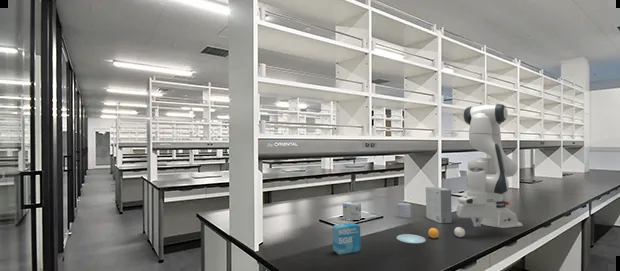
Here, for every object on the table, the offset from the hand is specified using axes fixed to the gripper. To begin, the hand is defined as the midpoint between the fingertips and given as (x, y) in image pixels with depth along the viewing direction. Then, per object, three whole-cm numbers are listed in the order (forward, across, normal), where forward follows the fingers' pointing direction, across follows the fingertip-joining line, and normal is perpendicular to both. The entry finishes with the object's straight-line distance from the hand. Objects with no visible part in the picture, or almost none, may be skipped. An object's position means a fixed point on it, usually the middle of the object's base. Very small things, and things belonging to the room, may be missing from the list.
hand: (477, 226), depth 158 cm
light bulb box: (+6, +56, -41) cm, 70 cm away
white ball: (+3, +9, 0) cm, 10 cm away
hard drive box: (+5, +3, -34) cm, 34 cm away
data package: (+8, +71, +14) cm, 73 cm away
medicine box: (+5, +21, -44) cm, 49 cm away
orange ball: (+3, +23, 0) cm, 23 cm away
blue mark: (+6, +35, 0) cm, 36 cm away
